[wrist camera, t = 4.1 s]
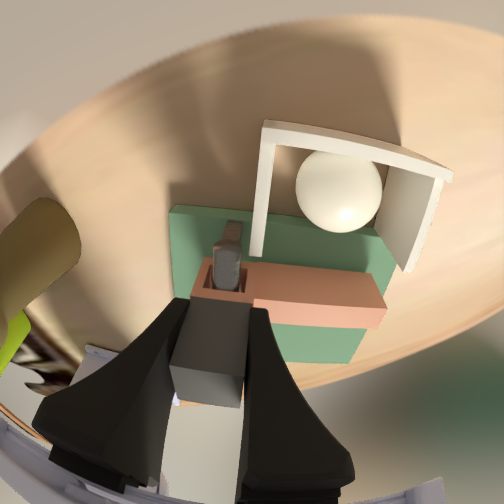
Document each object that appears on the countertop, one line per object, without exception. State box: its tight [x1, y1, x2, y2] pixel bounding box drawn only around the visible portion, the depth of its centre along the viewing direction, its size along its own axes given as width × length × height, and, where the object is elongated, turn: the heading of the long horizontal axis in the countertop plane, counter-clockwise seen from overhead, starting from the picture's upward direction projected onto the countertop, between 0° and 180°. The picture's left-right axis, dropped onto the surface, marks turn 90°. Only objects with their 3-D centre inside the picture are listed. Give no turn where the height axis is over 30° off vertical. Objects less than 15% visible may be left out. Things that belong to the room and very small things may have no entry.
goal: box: [249, 119, 454, 273], centre depth 11 cm, size 7×5×5 cm
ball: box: [296, 150, 382, 233], centre depth 12 cm, size 4×4×4 cm
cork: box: [0, 198, 81, 350], centre depth 12 cm, size 6×6×11 cm
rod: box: [213, 220, 243, 292], centre depth 15 cm, size 1×11×3 cm, turn 175°
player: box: [169, 257, 387, 408], centre depth 12 cm, size 9×2×7 cm, turn 85°
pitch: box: [169, 204, 397, 364], centre depth 17 cm, size 13×11×1 cm
